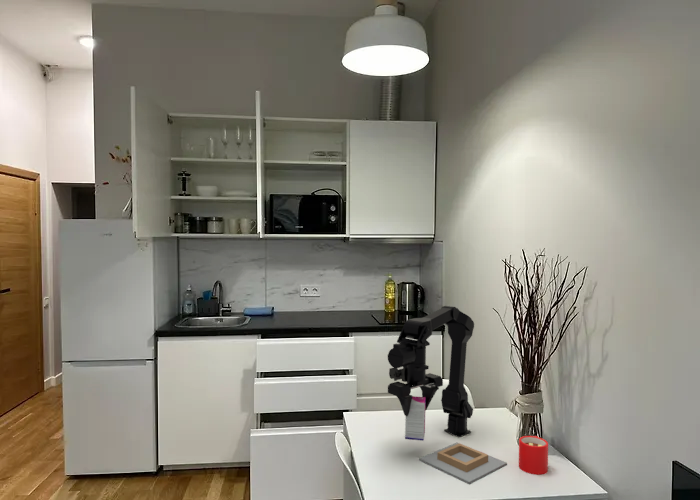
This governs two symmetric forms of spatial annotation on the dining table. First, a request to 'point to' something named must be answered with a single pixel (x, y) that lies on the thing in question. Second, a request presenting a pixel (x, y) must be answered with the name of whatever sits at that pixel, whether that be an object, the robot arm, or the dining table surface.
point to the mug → (533, 455)
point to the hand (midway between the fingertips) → (415, 412)
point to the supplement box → (416, 419)
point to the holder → (463, 462)
